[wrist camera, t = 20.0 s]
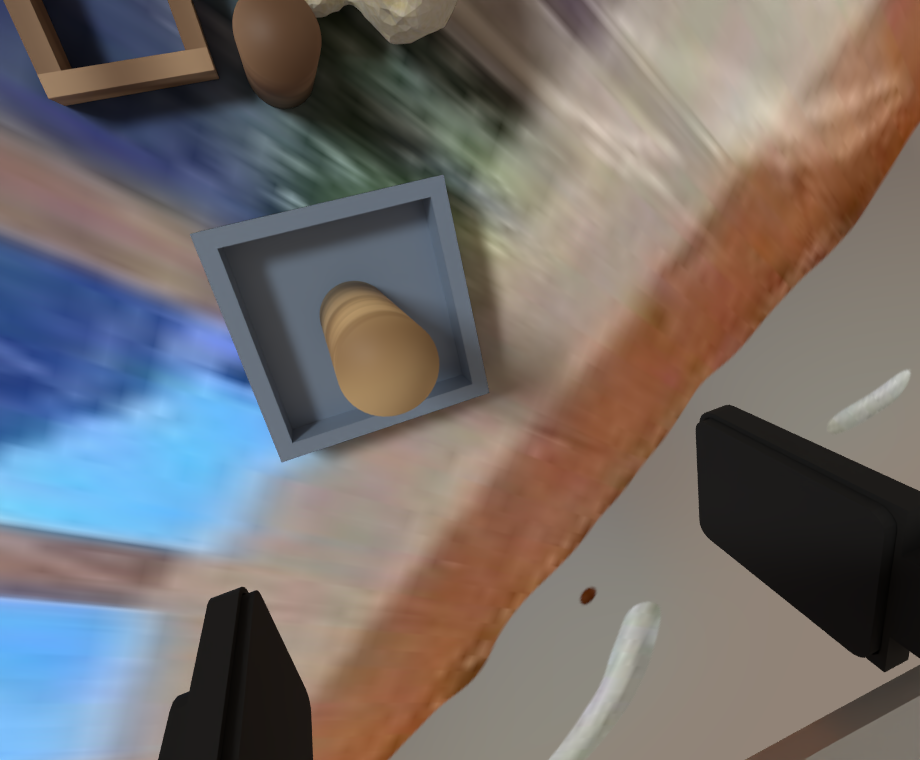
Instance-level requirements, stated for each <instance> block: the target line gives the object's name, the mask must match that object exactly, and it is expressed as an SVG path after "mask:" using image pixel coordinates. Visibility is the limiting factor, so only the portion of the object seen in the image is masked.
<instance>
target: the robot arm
mask: <svg viewBox="0 0 920 760" xmlns="http://www.w3.org/2000/svg"><path fill="white" fill-rule="evenodd" d="M696 448H697V471H698V495H699V518H700V525H701V528H702V530H703V532H704V534H705V535H706V536H707V537H708V538H709V539H710V540H711V541H712V542H714V543H715V544H716V545H717V546H719V547H720V548H721V549H722V550H724V551H725V552H726V553H727V554H729V555H730V556H731V557H732V558H734V559H735V560H736V561H737V562H739V563H740V564H741V565H742V566H744V567H745V568H746V569H747V570H749V571H750V572H751V573H752V574H754V575H755V576H756V577H757V578H759V579H760V580H761V581H762V582H764V583H765V584H766V585H767V586H769V587H770V588H771V589H772V590H774V591H775V592H776V593H778V594H779V595H780V596H781V597H782V598H784V599H785V600H786V601H787V602H789V603H790V604H791V605H792V606H794V607H795V608H796V609H797V610H799V611H800V612H801V613H802V614H804V615H805V616H806V617H808V618H809V619H810V620H811V621H812V622H814V623H815V624H816V625H817V626H819V627H820V628H821V629H822V630H824V631H825V632H826V633H827V634H829V635H830V636H831V637H832V638H834V639H835V640H836V641H837V642H839V643H840V644H841V645H842V646H843V647H845V648H846V649H847V650H848V651H850V652H851V653H853V654H854V655H856V656H858V657H864V658H865V657H866V658H867V659H868V660H869V661H871V662H872V663H873V664H874V665H876V666H877V667H878V668H880V669H881V670H882V671H883V672H886V671H888V670H890V669H891V668H894V667H895V666H897V665H899V664H901V663H903V662H904V661H906V660H908V657H909V651H910V652H912V653H913V654H914V655H916V656H917V657H919V658H920V491H918V490H916V489H914V488H912V487H909V486H907V485H905V484H903V483H901V482H898V481H896V480H894V479H892V478H890V477H888V476H885V475H883V474H881V473H879V472H876V471H874V470H872V469H870V468H868V467H865V466H863V465H861V464H859V463H857V462H855V461H853V460H850V459H848V458H846V457H844V456H842V455H839V454H837V453H835V452H833V451H831V450H828V449H826V448H824V447H822V446H820V445H817V444H815V443H813V442H811V441H809V440H807V439H804V438H802V437H800V436H798V435H796V434H793V433H791V432H789V431H787V430H785V429H782V428H780V427H778V426H776V425H774V424H772V423H769V422H767V421H765V420H763V419H761V418H758V417H756V416H754V415H752V414H750V413H747V412H745V411H743V410H741V409H739V408H737V407H734V406H731V405H725V406H722V407H720V408H717V409H714V410H712V411H709V412H706V413H704V414H703V415H702V416H701V418H700V422H699V423H698V424H697V426H696ZM158 760H313V747H312V722H311V707H310V701H309V697H308V694H307V691H306V688H305V686H304V684H303V682H302V680H301V678H300V676H299V674H298V672H297V670H296V667H295V665H294V663H293V661H292V659H291V657H290V655H289V653H288V651H287V649H286V646H285V644H284V642H283V640H282V638H281V636H280V634H279V632H278V630H277V628H276V625H275V623H274V621H273V619H272V617H271V615H270V613H269V611H268V609H267V607H266V604H265V602H264V600H263V598H262V596H261V594H260V593H259V591H257V590H255V591H253V592H250V593H249V592H248V591H247V589H246V588H245V587H240V588H237V589H235V590H232V591H229V592H227V593H224V594H221V595H219V596H216V597H213V598H211V599H210V600H209V602H208V605H207V609H206V614H205V619H204V624H203V628H202V633H201V638H200V643H199V648H198V652H197V657H196V662H195V667H194V672H193V676H192V681H191V686H190V691H189V692H186V693H184V694H182V695H179V696H177V698H176V699H175V700H174V701H173V704H172V706H171V709H170V712H169V717H168V721H167V725H166V729H165V733H164V738H163V742H162V746H161V750H160V754H159V758H158ZM746 760H920V665H919V666H917V667H915V668H913V669H911V670H909V671H907V672H906V673H904V674H902V675H900V676H898V677H896V678H895V679H893V680H891V681H889V682H887V683H885V684H883V685H882V686H880V687H878V688H876V689H874V690H872V691H871V692H869V693H867V694H865V695H863V696H861V697H859V698H858V699H856V700H854V701H852V702H850V703H848V704H847V705H845V706H843V707H841V708H839V709H837V710H835V711H834V712H832V713H830V714H828V715H826V716H824V717H823V718H821V719H819V720H817V721H815V722H813V723H812V724H810V725H808V726H806V727H804V728H803V729H801V730H799V731H797V732H795V733H793V734H791V735H790V736H788V737H786V738H784V739H782V740H780V741H779V742H777V743H775V744H773V745H771V746H769V747H768V748H766V749H764V750H762V751H760V752H758V753H757V754H755V755H753V756H751V757H750V758H748V759H746Z"/></svg>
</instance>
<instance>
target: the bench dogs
mask: <svg viewBox="0 0 920 760" xmlns="http://www.w3.org/2000/svg"><path fill="white" fill-rule="evenodd" d="M232 23H233V34H234V38H235V42H236V45H237V48H238V51H239V54H240V57H241V60H242V64H243V67H244V70H245V73H246V76H247V79H248V82H249V84H250V86H251V88H252V89H253V91H254V92H255V93H256V94H257V96H258V97H259V98H260V99H262V100H263V101H264V102H266V103H267V104H269V105H271V106H273V107H277V108H282V109H289V108H294V107H297V106H299V105H301V104H302V103H303V102H305V101H306V100H307V98H308V97H309V95H310V94H311V92H312V89H313V85H314V81H315V76H316V71H317V66H318V61H319V57H320V52H321V41H322V39H321V31H320V27H319V24H318V21H317V19H316V16H315V14H314V13H313V11H312V9H311V8H310V6H309V5H308V4H307V3H306V1H305V0H238V2H237V4H236V7H235V9H234V13H233V21H232Z"/></svg>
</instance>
